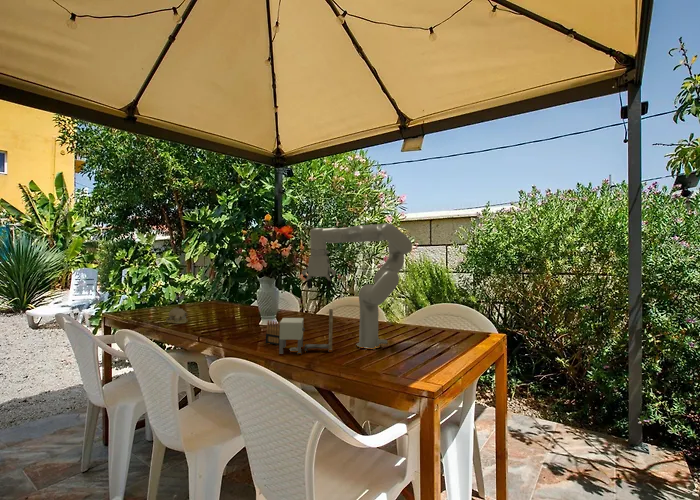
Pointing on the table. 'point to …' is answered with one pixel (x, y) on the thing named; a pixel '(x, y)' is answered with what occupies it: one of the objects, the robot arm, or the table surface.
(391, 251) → the robot arm
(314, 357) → the table surface
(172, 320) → the ceramic model
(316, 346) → the hook scraper
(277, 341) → the ammunition clip
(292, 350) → the steel disc
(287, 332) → the cabinet
